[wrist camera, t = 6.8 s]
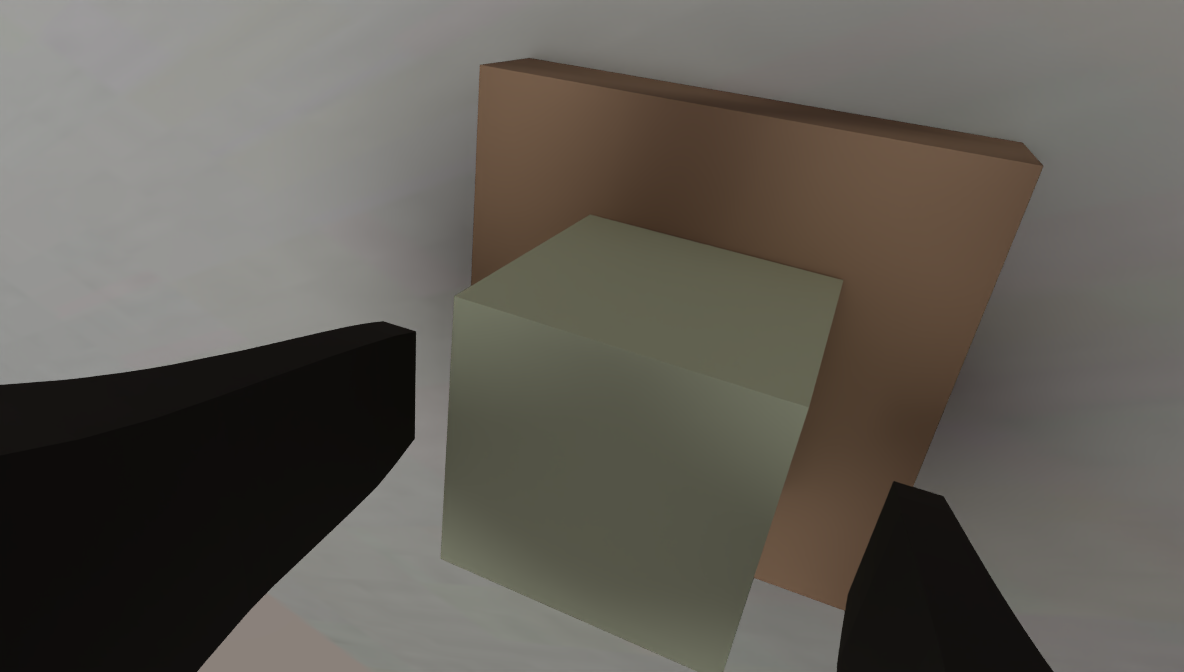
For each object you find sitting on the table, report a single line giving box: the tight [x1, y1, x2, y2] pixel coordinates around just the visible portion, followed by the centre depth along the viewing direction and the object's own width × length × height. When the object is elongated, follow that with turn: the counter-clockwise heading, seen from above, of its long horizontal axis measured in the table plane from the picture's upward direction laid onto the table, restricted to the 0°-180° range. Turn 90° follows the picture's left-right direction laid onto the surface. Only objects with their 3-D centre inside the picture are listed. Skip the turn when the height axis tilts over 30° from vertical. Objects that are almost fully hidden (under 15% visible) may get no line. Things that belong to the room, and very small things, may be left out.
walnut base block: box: [471, 58, 1043, 611], centre depth 14 cm, size 9×9×2 cm
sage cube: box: [441, 215, 843, 672], centre depth 11 cm, size 4×4×4 cm
